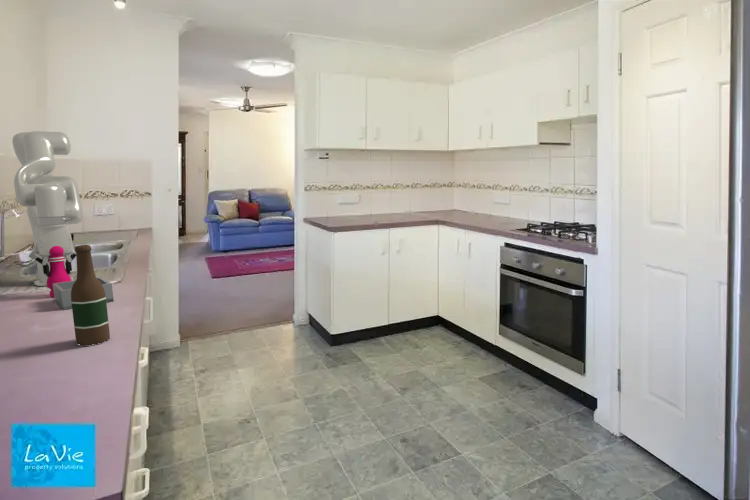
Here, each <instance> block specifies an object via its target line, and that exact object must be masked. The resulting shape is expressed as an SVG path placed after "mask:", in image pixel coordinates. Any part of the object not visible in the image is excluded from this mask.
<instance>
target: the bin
mask: <svg viewBox="0 0 750 500" xmlns="http://www.w3.org/2000/svg"><path fill="white" fill-rule="evenodd" d="M96 278H97V279H98V280H99V281H100V282H101V284H102V286H103V288H104V290H105V296H106V303H111V302H114V293H113V291H114V290H113V284H112V282H111V281H108V280H107V279H105V278H103V277H102V276H96ZM75 281H76V279H75V280H73V281H68V282H61V283H54V284H53V290H54V302H55V303H56V304H57V306H59V307H60V308H61V310H63V311H66V310H72V303H71V290H72V286H73V284H74V282H75Z"/></svg>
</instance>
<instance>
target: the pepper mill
mask: <svg viewBox="0 0 750 500" xmlns="http://www.w3.org/2000/svg"><path fill="white" fill-rule="evenodd" d="M49 253H50V255H51V256H48V262H49V263H50V276H49V277H48V278H47V286H46V287H47V288H48V289H50V291H49V297H50V298H54V290H53V284H54V283H61V282H68V281H72V280H71V278H70V277H71V276H70V274H68V273H67V271H66V269H65V265H64V260H65V256H64V255H63V253H64V249H63V248H62V247H60V246H53V247H52V248H51V249H50V251H49ZM54 299H55V298H54Z"/></svg>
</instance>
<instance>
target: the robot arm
mask: <svg viewBox="0 0 750 500" xmlns="http://www.w3.org/2000/svg"><path fill="white" fill-rule="evenodd" d="M69 138H70V137H68V135H67V134H66V133H65V132H61V131H37V130H36V131H34V130H32V131H27V132H26V131H24V132H18V133H16V134H14V135H13V136H12V146H13V150H14V154H15V155H16V157H17V158H16V159H18V161H19V163H20V165H21V166H20V167H19V168H18V171H16V173H15V175H14V178H13V187H14V193H15V199H16V201H17V203H18V204H19V205H20V206H22V207H26V213H27V216H28V217H27V218H28V221H29V225H30V228H31V232H32V236H33V237H32V238H33V244H34V248H33V250H31V252H30V253H29V254H28V257H29V258H30V259H32V260H34V261H35V262H36V266H37V275H38V279H37V280H35V281H33V284H34V285H35V286H37V287H47V278H48V277H49V276H50V263H49V262H48V256H51V255H50V253H49V251H50V249H51V248H52V247H53V246H60V247H62V248H63V249H64V253H63V255H64V256H65V260H64V265H65V269H66V271H67V273H68V274H69V275H71V272H72V271H73V267H72V262H73V260H74V259H76V252H75V251H74V250H75V247H76V246H77V245H75V244H74V243H73V238H72V235H71V231H70V228H69V225H75V224H79V223H81V222H82V220H83V218H84V211H83V206H82V201H81V197H80V191H79V188H78V185H77V182H76V180H75V179H74V178H73V177H71V176H64V175H63V176H62V175H58V176H57V175H53V171H54V170H55V167H56V162H55V157H54V156H55V155H56V156H59V155H60V156H68V155H69V154H70V153H71V142H70V139H69ZM70 278H71V280H72V281H75V280H74V276H70Z"/></svg>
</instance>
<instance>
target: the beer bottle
mask: <svg viewBox="0 0 750 500" xmlns="http://www.w3.org/2000/svg"><path fill="white" fill-rule="evenodd" d="M75 246H76V247H75V250H74V249H73V252H76V257H75V260H76V278H75V280H76V281H75V280H74V281H75V282H74V284H73V286H72V290H71V303H72V309H71V311H72V318H73V326H74V334H75V336H74V337H75V343H76V345H77V344H80V345H92V344H97V345H99V344H98V343H102V342H104V341H106V340H108V339H109V340H111V337H110V335H111V333H110V326H109V325H110V323H109V315H108V314H109V313H108V305H107V303H108V302H107V303H106V296H105V290H104V288H103V286H102V284H101V282H100V281H99V280H98V279H97V276H96V272H95V269H94V268H95V267H94V264H93V258H92V252H91V251H92V250H93V249H92V246H91V245H89V244H79V245H75ZM109 340H108V341H109ZM106 342H107V341H106ZM104 343H105V342H104ZM102 344H103V343H102ZM92 346H93V345H92Z"/></svg>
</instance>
